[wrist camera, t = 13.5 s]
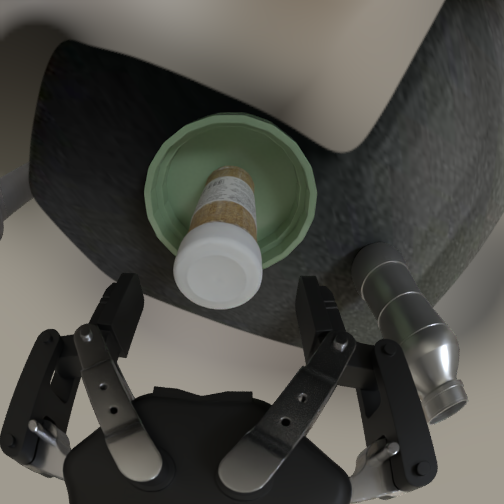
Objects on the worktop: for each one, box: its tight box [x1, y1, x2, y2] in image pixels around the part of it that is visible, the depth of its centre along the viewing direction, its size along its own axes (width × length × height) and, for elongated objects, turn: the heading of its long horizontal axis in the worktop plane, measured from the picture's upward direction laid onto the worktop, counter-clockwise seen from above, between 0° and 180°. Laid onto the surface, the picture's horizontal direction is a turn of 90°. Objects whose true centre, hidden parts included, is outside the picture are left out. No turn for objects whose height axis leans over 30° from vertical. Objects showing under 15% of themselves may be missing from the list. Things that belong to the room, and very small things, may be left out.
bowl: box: [144, 112, 317, 269], centre depth 24 cm, size 14×14×4 cm
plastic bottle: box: [351, 242, 468, 425], centre depth 22 cm, size 6×7×20 cm
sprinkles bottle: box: [173, 166, 262, 309], centre depth 19 cm, size 5×5×14 cm
